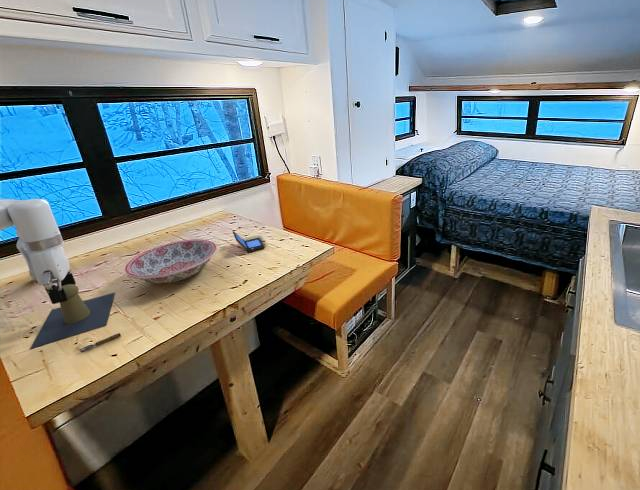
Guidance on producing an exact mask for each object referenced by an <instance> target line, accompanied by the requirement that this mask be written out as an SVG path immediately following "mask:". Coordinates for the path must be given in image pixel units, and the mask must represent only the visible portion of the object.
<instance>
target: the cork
mask: <svg viewBox="0 0 640 490" xmlns="http://www.w3.org/2000/svg"><path fill="white" fill-rule="evenodd" d="M61 287H62V288H64V290H65V293H66V295H67V298H68V300H67V301H65V302H61V303H59V306H60V307H61V311H62V315H63V319H64V323H66V324H70V323H75V322H78V321H80V320H83V319H84V318H86V317H87V316H89V315H90V310H89V309H88V308H87V306H86V305H85V303H84V302H83V301H84V300H83V299H82V297H81V296H80V295H79V292H80V291H79V287H78V286H77V285H76V284H75V285H74V284H68V285H64V286H61Z"/></svg>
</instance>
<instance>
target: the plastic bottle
mask: <svg viewBox="0 0 640 490" xmlns="http://www.w3.org/2000/svg"><path fill="white" fill-rule="evenodd" d="M15 231H16V230H15ZM15 233H16V236H17V238H18V240H17V242H16V249H17V250H18V251H19V252H20V254H21V255H22V256H23V258H24V260H25V262H26V264H27V268H28V273H29V276H30V277H31V279H32V280H35V281H37V278H36V276H35V273H34V270H33V267H32V264H31V260H30V253H26V251H25V249H24V246H23V244H22V242H21V240H20V237H19V235H18V233H17V231H16V232H15Z"/></svg>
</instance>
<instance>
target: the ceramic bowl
mask: <svg viewBox="0 0 640 490" xmlns="http://www.w3.org/2000/svg"><path fill="white" fill-rule="evenodd" d="M217 249H218V245H217V244H216V243H215V242H213V241H211V240H208V239H199V238H198V239H197V238H196V239H195V238H194V239H185V240H184V239H183V240H178V241H173V242H168V243H165V244H162V245H158V246H156V247H153V248H150V249H148V250H146V251H143V252H141V253H139V254H138V255H136V256H134V257H133V258H132V259H130V260H129V261H128V262H127V263H126V264H125V267H124V273H125V274H126V275H127V276H128V277H130V278H133V279H139V280H141V281H143V282H147V283H149V284H150V283H151V284H169V283H175V282H179V281H182V280H185V279H188V278H190V277H192V276H194V275H196V274H197V273H199V272H200V271H201V270H202V269H204V268H205V266H206V265H207V264H209V261H210V260H211V258H212V257H213V256H214V255H215V254H216V252H217Z"/></svg>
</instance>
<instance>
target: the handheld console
mask: <svg viewBox="0 0 640 490" xmlns="http://www.w3.org/2000/svg"><path fill="white" fill-rule="evenodd" d="M232 234H233V237H234V240H235V241H236V242H237V243H238V244H239V245H240V246H241V247H242V248H244V250H246V253H248V254H250V253H253V252H257V251H261V250H264V249H265V248H266V247H265V245H264V243H263V242H262V240H261V238H260V237H254V238H250V239H247V240H245V239H243V238H242V237H241V236H240V235H239V234H237V232H235V231H234V230H232Z"/></svg>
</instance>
